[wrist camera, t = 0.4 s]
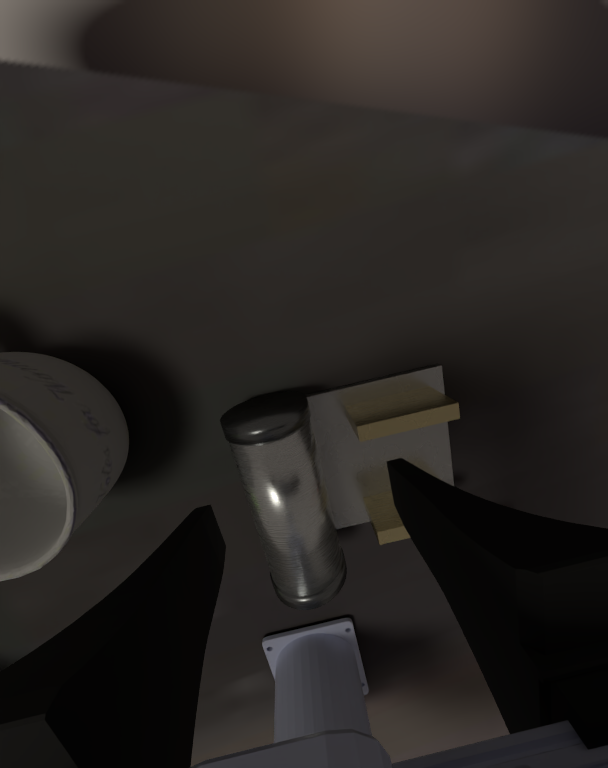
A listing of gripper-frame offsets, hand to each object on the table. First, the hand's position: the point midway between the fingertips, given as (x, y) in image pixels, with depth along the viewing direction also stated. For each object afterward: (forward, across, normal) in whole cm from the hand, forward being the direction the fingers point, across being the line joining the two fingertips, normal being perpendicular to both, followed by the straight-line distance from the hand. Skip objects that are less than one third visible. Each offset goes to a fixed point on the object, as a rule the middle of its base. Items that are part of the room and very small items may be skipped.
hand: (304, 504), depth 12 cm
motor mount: (+10, -3, +4) cm, 11 cm away
